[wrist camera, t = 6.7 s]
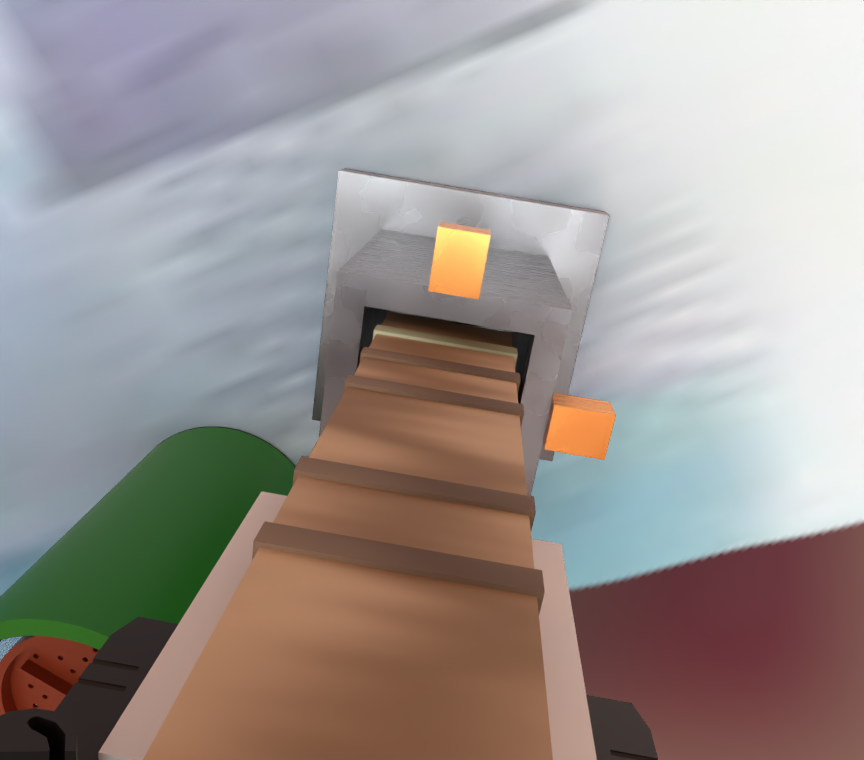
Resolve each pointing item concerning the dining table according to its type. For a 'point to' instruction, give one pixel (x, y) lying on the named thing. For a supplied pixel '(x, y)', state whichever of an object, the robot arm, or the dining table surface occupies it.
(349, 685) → the column
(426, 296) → the stand base
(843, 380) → the dining table surface
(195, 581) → the motor
